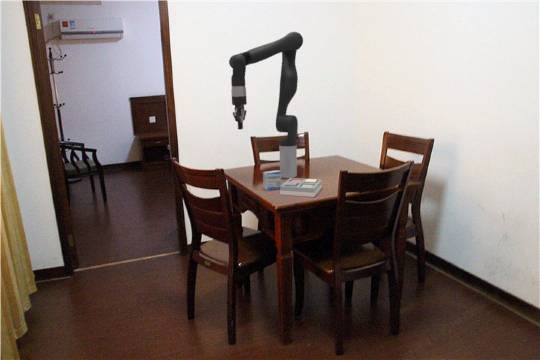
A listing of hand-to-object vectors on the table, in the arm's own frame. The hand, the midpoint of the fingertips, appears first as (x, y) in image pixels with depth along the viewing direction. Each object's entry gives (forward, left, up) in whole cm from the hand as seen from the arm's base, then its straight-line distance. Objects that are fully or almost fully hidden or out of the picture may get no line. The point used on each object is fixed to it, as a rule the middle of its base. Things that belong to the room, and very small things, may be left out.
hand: (240, 129), depth 210 cm
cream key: (+11, +40, -24) cm, 48 cm away
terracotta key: (+11, +33, -25) cm, 43 cm away
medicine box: (+13, +22, -27) cm, 37 cm away
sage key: (+18, +40, -25) cm, 51 cm away
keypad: (+14, +37, -27) cm, 48 cm away
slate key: (+18, +33, -24) cm, 45 cm away
